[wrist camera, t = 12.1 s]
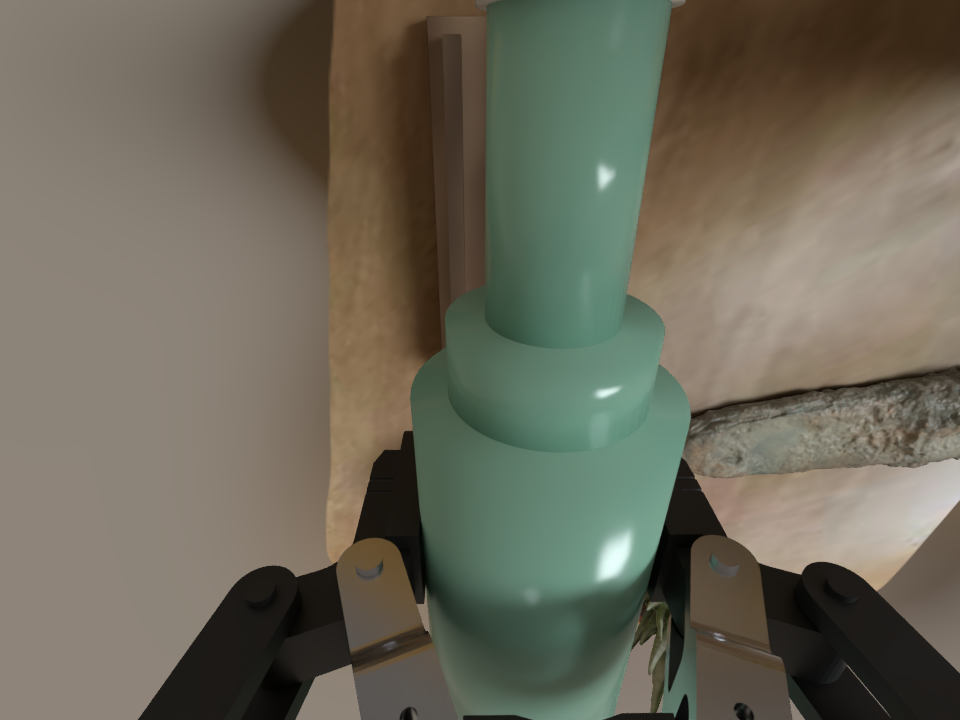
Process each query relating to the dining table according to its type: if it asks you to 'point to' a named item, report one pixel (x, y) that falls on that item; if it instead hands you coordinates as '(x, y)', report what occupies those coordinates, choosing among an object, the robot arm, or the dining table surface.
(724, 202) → the dining table surface
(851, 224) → the dining table surface
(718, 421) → the elongated rock
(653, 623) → the potted plant
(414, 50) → the dining table surface
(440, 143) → the cradle
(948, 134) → the dining table surface
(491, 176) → the bottle
